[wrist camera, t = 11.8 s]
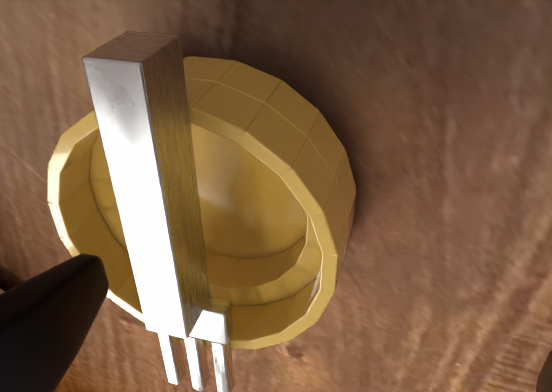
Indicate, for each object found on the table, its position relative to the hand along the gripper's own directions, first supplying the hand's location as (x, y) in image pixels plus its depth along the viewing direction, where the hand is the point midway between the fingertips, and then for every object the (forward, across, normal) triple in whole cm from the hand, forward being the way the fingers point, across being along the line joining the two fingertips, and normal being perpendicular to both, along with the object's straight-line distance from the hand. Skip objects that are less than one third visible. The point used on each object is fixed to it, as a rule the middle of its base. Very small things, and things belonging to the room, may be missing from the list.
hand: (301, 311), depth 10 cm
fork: (+7, +6, +5) cm, 11 cm away
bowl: (+12, +6, +5) cm, 14 cm away
